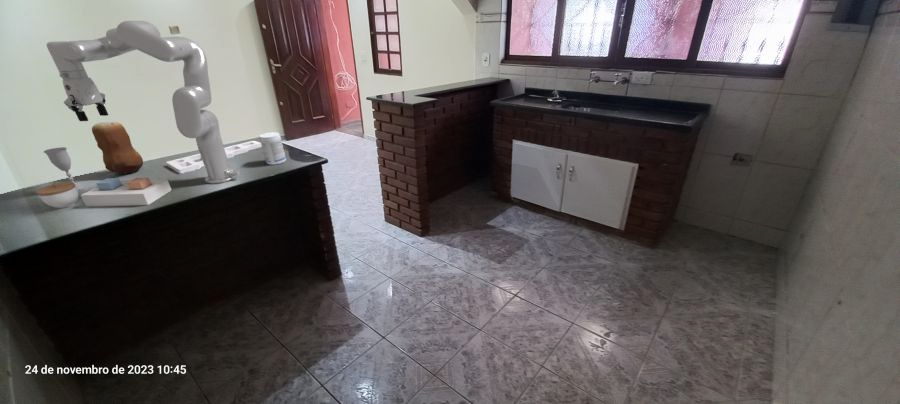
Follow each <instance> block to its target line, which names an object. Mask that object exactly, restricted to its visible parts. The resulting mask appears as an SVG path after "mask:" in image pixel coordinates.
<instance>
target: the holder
mask: <svg viewBox="0 0 900 404" xmlns="http://www.w3.org/2000/svg"><path fill="white" fill-rule="evenodd" d="M259 148H262V145H261V142H259V141H256V140H251V141H246V142H242V143H239V144H238V143H237V144H234V145H230V146H227V147H225V146H224V149H225V153H226V156H227V159H230V158H234V157H235V156H237V155H241V154H244V153H248V152H249V151H252V150H255V149H259ZM197 160H199V161H197ZM200 160H201V161H200ZM165 163H166V166H167V168H170V169H171V170H173V171H175V172H177V173H179V174H181V173H182V174H185V172H186V173H189V172H193V171H196V169H197V170H199V169H201V168H202V167H205V166H204V163H203V160H202V158H201V155H200V153H196V154H193V155H189V156H185V157H184V156H183V157H181V158H177V159H176V158H175V159H172V160H167V161H166V162H165Z"/></svg>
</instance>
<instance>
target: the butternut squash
mask: <svg viewBox="0 0 900 404" xmlns="http://www.w3.org/2000/svg"><path fill="white" fill-rule="evenodd" d="M91 132H92V134H93V137H94V140H95V142H96V144H97V145H96V146H97V148H98V149H99V150H101V152H102V160H103V161H102V162H103V164H104V167H105V169H106V170H108V171H109V172H111V173H113V174H118V175H124V174H127V175H128V174H134V173H136V172H137V171H139V170H140V169H141V168H142V166H143V164H144V159H143V157H142V155H141V154H140V152H139V151H137V150H136V149H135V148H134V147H133V145H132V141H131V138H130V136H129V135H130V134H129V133H128V132H127V130H126V128H125V126H124V125H122V124H121V123H120V122H118V121H109V122H97V123H95V124H93V126H92V127H91Z"/></svg>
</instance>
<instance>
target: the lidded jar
mask: <svg viewBox="0 0 900 404" xmlns="http://www.w3.org/2000/svg"><path fill="white" fill-rule="evenodd" d="M36 194H37V195H38V197H39V198H40V200H41V201H42V202H43V203H44V204H46V205H48V206H50V207H52V208H55V209H64V208H68V207H71V206H74V205H75V204H76V203H77V201H78V199H79V196H80V195H79V194H80V193H79V190H77V188H76V185H75V184H74V183H73V182H71V181H70V182H69V181H67V182H58V183H55V182H53V183H51V184H50V185H45V186H44V187H41V188H39V189H37V190H36Z"/></svg>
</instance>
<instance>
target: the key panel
mask: <svg viewBox="0 0 900 404" xmlns="http://www.w3.org/2000/svg"><path fill="white" fill-rule="evenodd" d="M149 180H150V182H151V185H149V186H147V187H146V188H144V189H129V186H128V184H127V182H129V181H130V180H120V181H121V184H122V185H121V186H119V187H117V188H115V189H113V190H99V188H98V186H96V187H95V188H92V189H91V190H89V191H86V192H84V193H82V194H80V197H81V198H82V201H83V202H84V205H85V206H86V207H111V206H112V207H117V206H118V207H119V206H149V205H151V204H153V203H154V202H155V201H157V200H158V199H160V198H162V197H164V195H166V194H167V193H168V194H169V192H171V191H172V187H171V185H170V182H169V180H168V179H149Z"/></svg>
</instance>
